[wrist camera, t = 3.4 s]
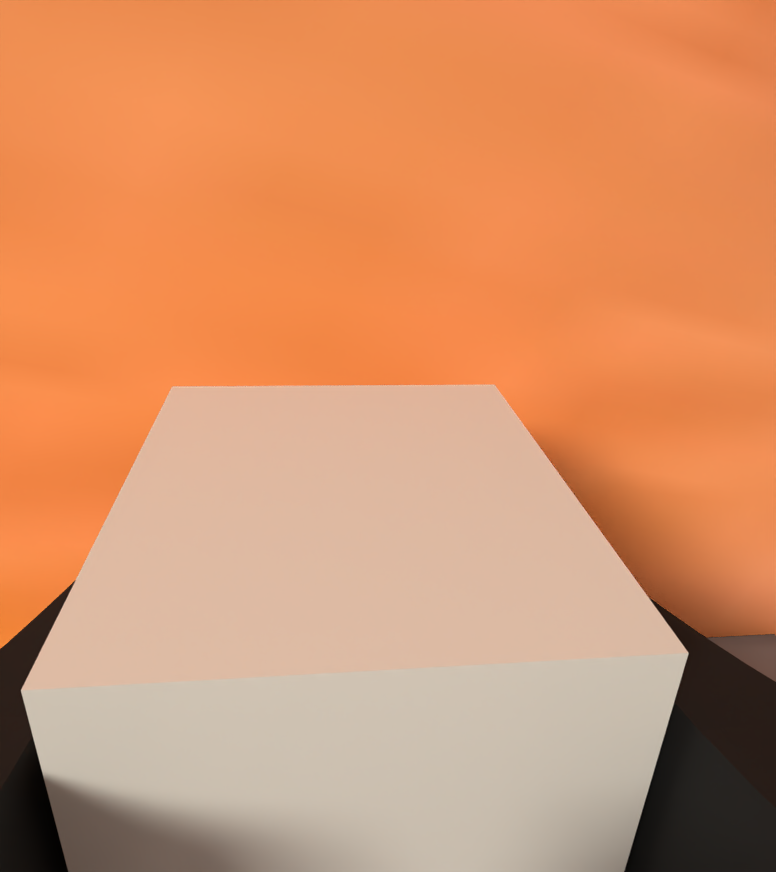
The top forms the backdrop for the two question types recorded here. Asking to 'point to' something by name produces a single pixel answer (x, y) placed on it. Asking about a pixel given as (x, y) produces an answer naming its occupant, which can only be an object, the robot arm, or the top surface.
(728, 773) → the robot arm
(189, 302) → the top surface
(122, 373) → the top surface
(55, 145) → the top surface
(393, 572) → the cream block
